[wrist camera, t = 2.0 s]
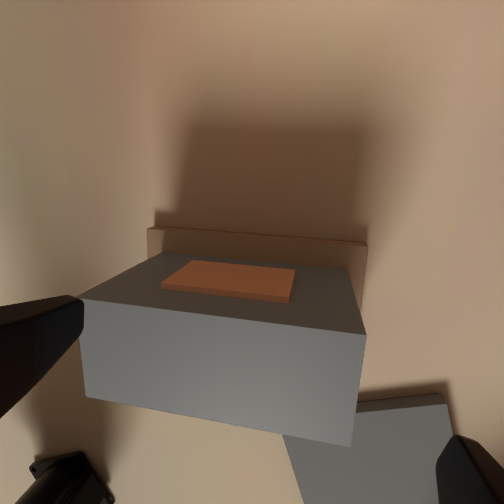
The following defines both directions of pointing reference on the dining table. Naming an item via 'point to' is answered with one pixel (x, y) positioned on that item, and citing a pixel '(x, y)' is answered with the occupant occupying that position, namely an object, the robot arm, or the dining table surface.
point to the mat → (377, 455)
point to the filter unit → (233, 332)
